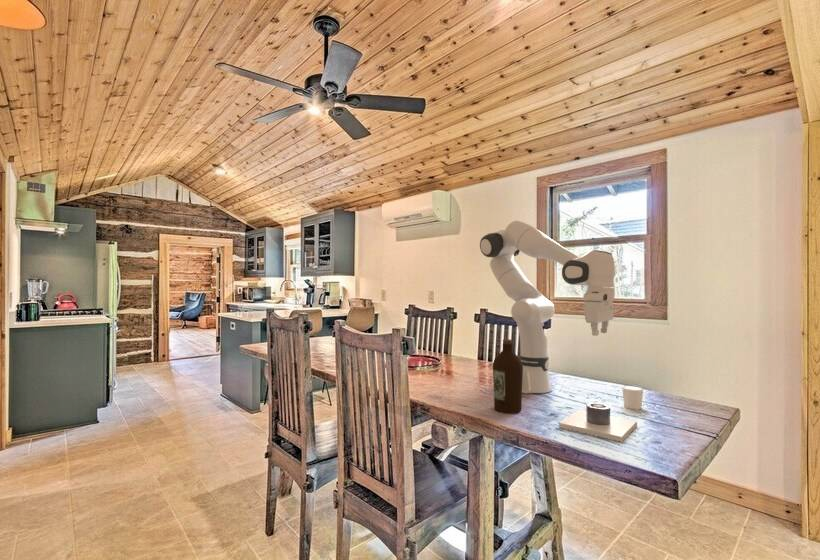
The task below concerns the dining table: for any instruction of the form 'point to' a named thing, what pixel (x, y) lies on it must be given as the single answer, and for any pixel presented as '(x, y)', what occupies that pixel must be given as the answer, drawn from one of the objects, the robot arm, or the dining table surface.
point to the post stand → (614, 430)
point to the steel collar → (598, 414)
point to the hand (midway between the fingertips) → (599, 334)
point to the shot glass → (632, 397)
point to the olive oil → (507, 380)
